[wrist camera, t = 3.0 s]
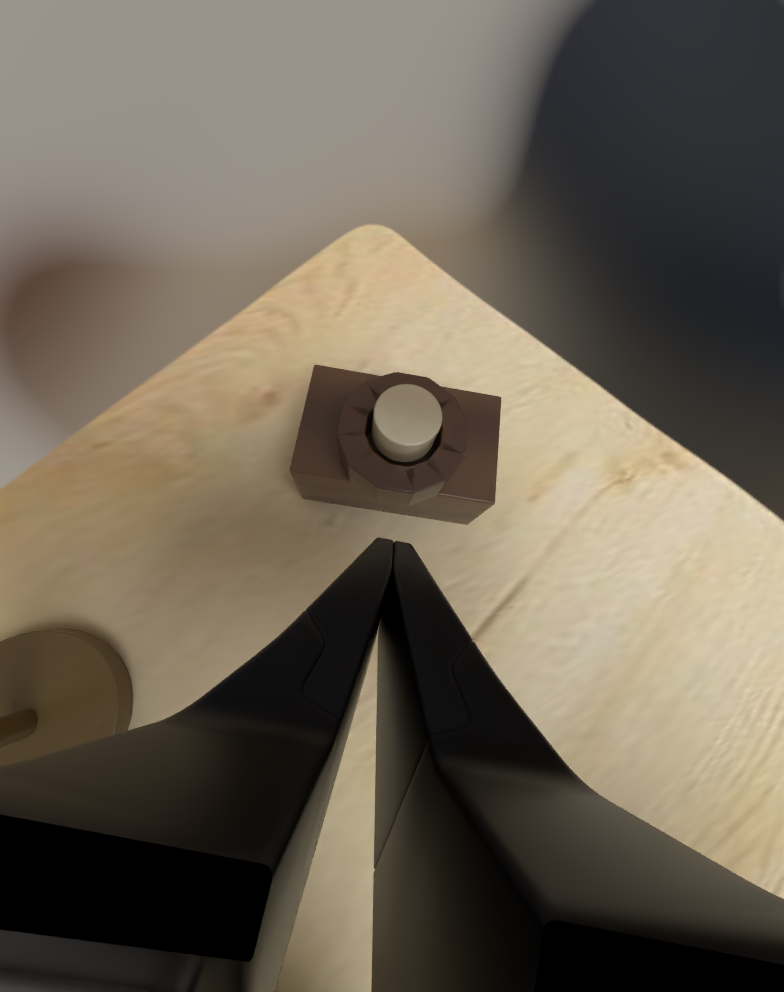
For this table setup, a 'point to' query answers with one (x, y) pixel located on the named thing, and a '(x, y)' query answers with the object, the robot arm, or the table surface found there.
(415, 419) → the lamp switch
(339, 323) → the table surface
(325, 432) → the switch box
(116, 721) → the desk lamp
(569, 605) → the table surface
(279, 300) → the table surface
